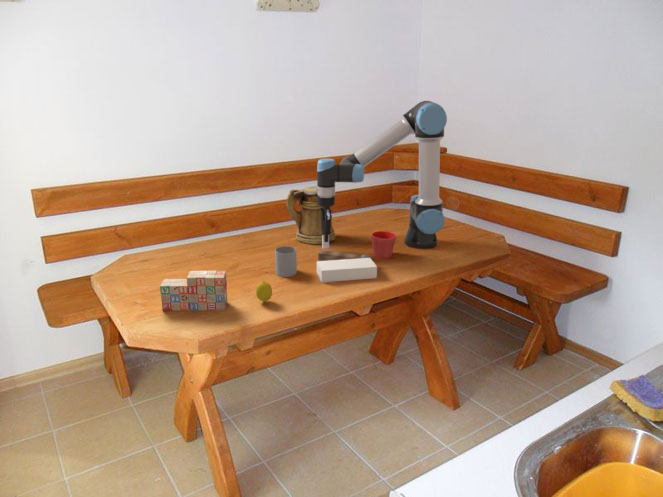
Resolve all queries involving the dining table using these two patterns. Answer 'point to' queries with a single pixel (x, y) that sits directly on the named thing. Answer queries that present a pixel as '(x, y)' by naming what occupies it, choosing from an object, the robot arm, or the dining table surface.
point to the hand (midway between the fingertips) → (325, 248)
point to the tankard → (307, 215)
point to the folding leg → (338, 256)
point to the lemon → (264, 291)
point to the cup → (286, 261)
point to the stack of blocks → (195, 291)
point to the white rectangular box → (346, 269)
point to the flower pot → (383, 243)
